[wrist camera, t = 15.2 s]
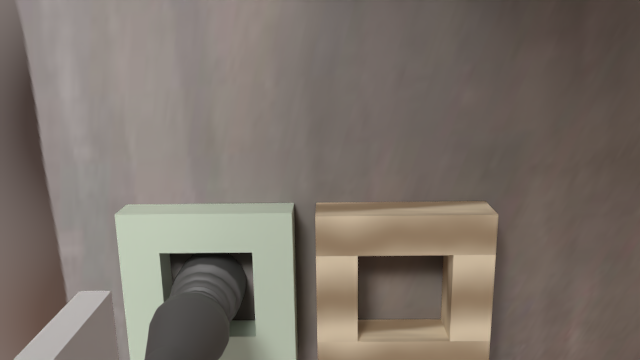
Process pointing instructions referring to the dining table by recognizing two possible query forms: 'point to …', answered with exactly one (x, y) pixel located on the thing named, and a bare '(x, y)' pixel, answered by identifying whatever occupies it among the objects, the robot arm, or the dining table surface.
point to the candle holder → (198, 310)
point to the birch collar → (406, 240)
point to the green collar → (212, 237)
